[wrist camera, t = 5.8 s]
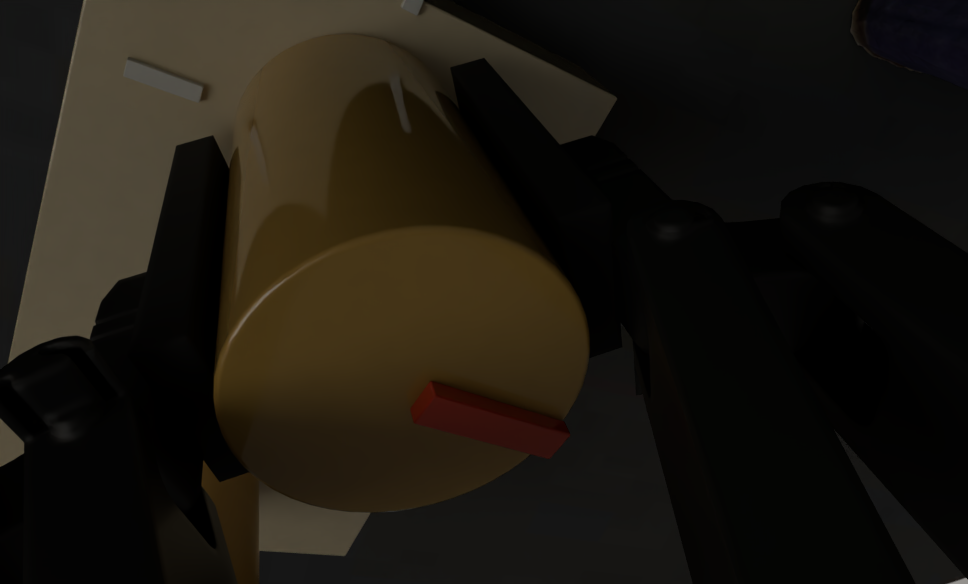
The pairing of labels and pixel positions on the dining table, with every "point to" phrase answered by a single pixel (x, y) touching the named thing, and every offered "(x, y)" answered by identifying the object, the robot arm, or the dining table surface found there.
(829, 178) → the dining table surface
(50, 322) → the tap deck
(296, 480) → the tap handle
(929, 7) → the flask
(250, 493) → the brown tall cylinder
